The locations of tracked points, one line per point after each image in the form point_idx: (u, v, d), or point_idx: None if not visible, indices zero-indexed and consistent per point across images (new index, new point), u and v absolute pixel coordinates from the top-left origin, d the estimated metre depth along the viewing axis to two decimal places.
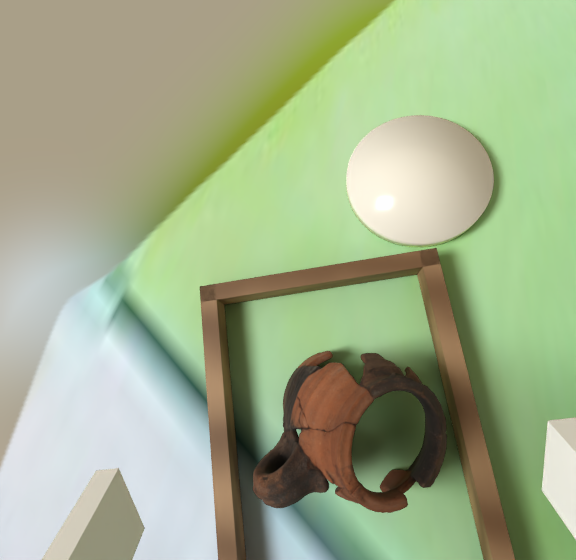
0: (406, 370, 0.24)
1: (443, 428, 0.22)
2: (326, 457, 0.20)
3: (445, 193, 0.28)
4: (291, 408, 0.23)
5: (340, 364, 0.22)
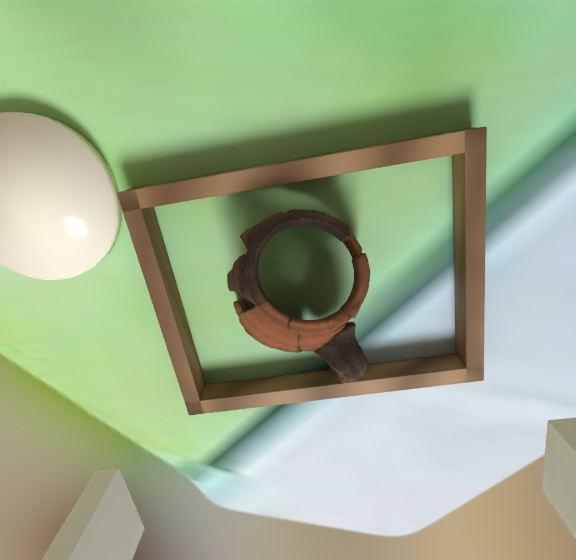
0: None
1: (294, 216, 0.21)
2: (322, 334, 0.22)
3: (48, 172, 0.24)
4: None
5: (239, 316, 0.23)
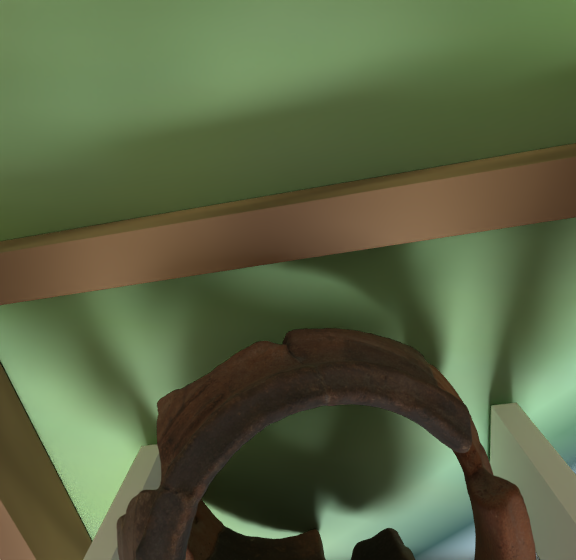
0: None
1: (304, 388, 0.07)
2: None
3: None
4: None
5: None
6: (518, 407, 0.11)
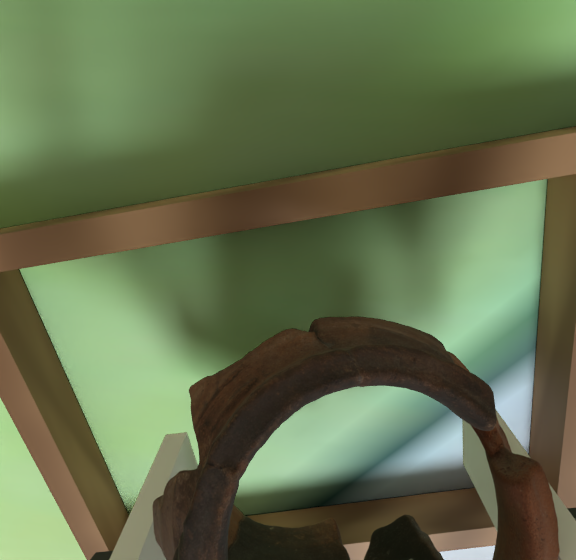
0: None
1: (338, 368, 0.07)
2: None
3: None
4: None
5: None
6: None
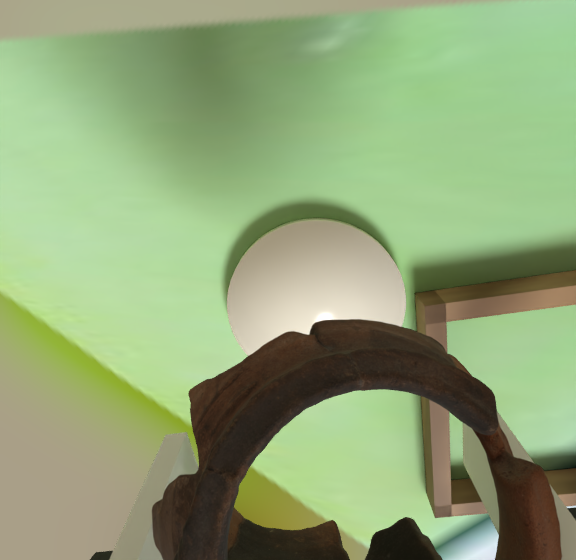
0: None
1: (338, 373, 0.07)
2: None
3: (342, 280, 0.22)
4: None
5: None
6: None
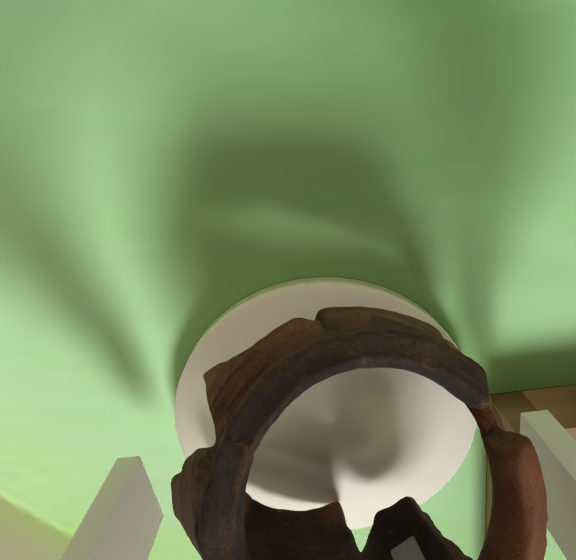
0: None
1: (343, 351, 0.08)
2: None
3: (370, 383, 0.13)
4: None
5: None
6: (550, 414, 0.11)
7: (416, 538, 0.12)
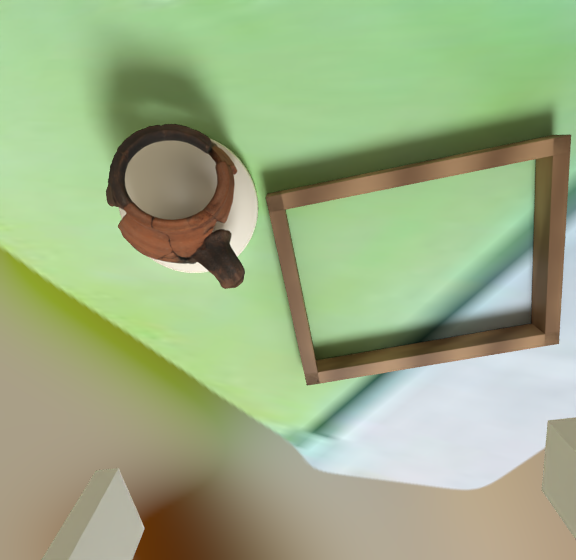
0: None
1: (157, 129, 0.24)
2: (190, 236, 0.24)
3: (204, 181, 0.29)
4: (171, 261, 0.27)
5: (118, 227, 0.25)
6: None
7: None
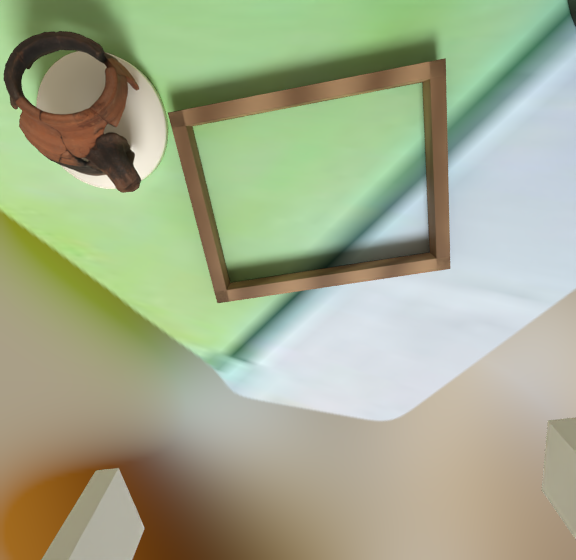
0: (26, 67, 0.28)
1: (51, 34, 0.26)
2: (81, 134, 0.27)
3: None
4: (73, 166, 0.30)
5: (19, 126, 0.28)
6: None
7: None
